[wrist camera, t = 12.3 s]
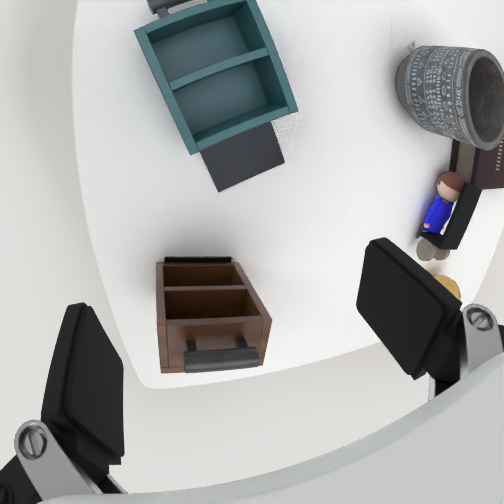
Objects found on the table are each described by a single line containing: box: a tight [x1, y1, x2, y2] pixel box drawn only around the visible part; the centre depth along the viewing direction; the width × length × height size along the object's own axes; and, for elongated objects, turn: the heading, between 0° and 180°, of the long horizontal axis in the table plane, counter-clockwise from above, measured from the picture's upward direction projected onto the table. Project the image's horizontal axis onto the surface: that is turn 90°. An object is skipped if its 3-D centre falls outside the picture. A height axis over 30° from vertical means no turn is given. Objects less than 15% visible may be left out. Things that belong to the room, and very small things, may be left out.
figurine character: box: [416, 172, 482, 261], centre depth 39 cm, size 7×8×15 cm
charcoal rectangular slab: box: [165, 257, 231, 263], centre depth 35 cm, size 6×8×1 cm
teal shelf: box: [134, 0, 298, 155], centre depth 21 cm, size 15×10×6 cm, turn 21°
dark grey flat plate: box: [200, 121, 285, 192], centre depth 29 cm, size 6×8×1 cm
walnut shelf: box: [156, 263, 272, 373], centre depth 28 cm, size 15×10×6 cm
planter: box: [396, 46, 504, 150], centre depth 25 cm, size 12×12×13 cm
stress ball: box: [433, 275, 461, 300], centre depth 47 cm, size 10×10×10 cm
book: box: [449, 135, 504, 190], centre depth 35 cm, size 28×20×6 cm
